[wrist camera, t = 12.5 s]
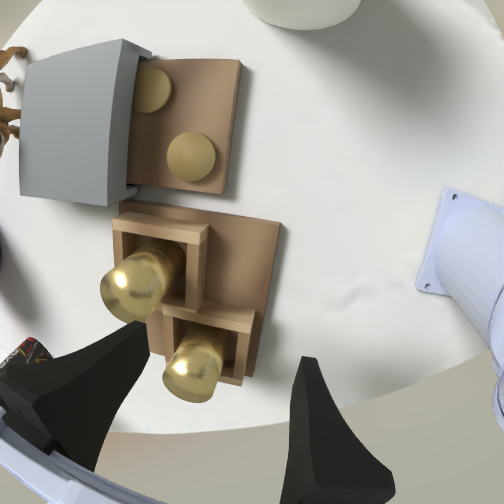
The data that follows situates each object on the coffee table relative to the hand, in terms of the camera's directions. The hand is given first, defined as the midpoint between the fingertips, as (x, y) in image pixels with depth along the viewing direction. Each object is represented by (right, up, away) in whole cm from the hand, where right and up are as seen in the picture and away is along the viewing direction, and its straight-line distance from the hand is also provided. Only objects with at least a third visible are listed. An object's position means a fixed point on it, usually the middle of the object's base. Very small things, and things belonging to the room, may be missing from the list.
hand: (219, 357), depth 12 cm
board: (-4, +14, +6) cm, 15 cm away
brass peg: (-2, -2, +11) cm, 11 cm away
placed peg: (-5, +4, +9) cm, 11 cm away
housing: (-11, +15, +7) cm, 20 cm away
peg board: (-3, +1, +11) cm, 11 cm away
